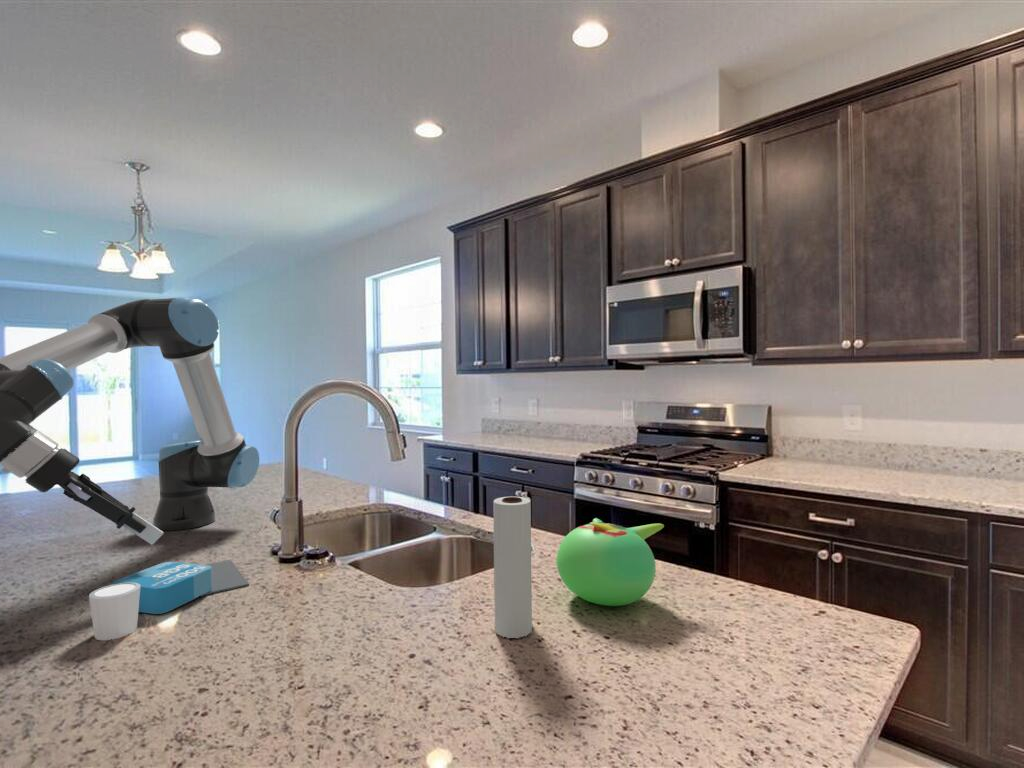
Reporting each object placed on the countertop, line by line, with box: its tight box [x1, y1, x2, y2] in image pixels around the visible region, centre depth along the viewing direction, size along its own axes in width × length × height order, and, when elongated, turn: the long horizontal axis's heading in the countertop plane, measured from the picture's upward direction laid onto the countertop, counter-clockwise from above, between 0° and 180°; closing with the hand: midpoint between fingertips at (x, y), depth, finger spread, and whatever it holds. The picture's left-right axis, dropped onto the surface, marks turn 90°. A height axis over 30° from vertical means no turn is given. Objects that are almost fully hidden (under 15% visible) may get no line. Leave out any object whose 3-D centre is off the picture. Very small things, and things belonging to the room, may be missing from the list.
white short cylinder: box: [88, 582, 140, 641], centre depth 89 cm, size 7×7×7 cm
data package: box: [112, 561, 212, 615], centre depth 102 cm, size 12×4×12 cm
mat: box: [201, 559, 250, 597], centre depth 111 cm, size 16×18×1 cm
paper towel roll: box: [492, 493, 533, 639], centre depth 88 cm, size 7×6×21 cm
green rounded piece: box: [556, 517, 665, 607], centre depth 100 cm, size 18×17×15 cm
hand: (157, 538), depth 106 cm, fingers closed
